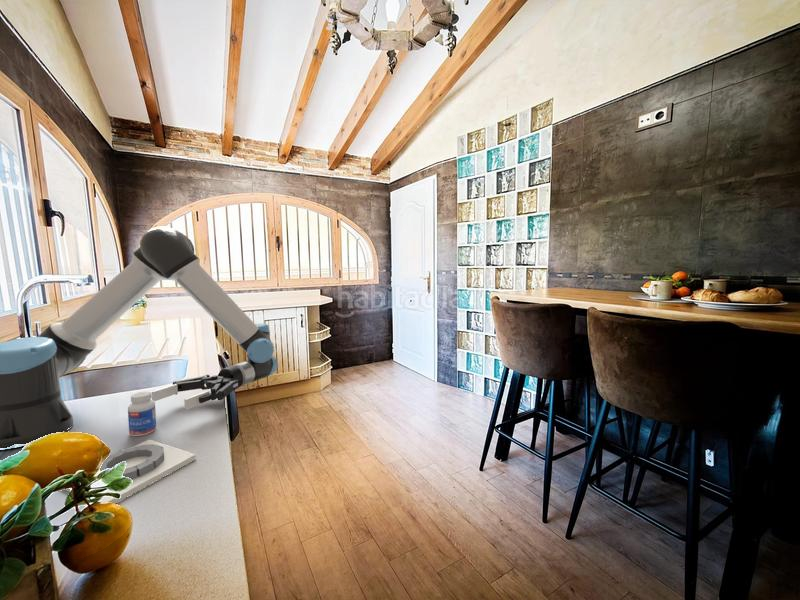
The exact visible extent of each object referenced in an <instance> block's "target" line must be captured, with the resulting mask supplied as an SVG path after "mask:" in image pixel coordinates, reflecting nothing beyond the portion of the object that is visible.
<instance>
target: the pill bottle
mask: <svg viewBox="0 0 800 600" xmlns="http://www.w3.org/2000/svg"><path fill="white" fill-rule="evenodd" d="M130 402H131V403H130V404H129V405H128V406H127V419H128V434H129V436H130V437H142V436H147V435H149V434H151V433H154V431H155V430H157V414H156V413H157V412H156V401H153V400H152V391H140V392H136V393H134V394H131V396H130Z"/></svg>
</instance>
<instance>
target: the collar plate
mask: <svg viewBox="0 0 800 600" xmlns="http://www.w3.org/2000/svg"><path fill="white" fill-rule="evenodd" d="M108 456H109V457H108V458H107V457H106V458H107V459H106V460H105V461H104V462H103V464H102V466H101V468H100V471H102V470H104V469H106V468H112V467H114V466H115V465H116V464H118V463H120V462H122V461H126V463H127V465H126V469H125V471H124V473H123V476H125V477H129V478H131V479H132V480H133V483H132V484H131V486H130V487H129V488H127V489H126V490H124V491H122V492H119V494H120V495H121V498H120V499H115V498H111V497H104V498H103V499H102V500H101V502H102V503H106V502H112V503H117V504H119V503H121V502H123V501H124V500H126V499H127V498H126V497H127V496H129V495H131V494H133V493H135V492H137V491H139V490H140V489H142V488H144V487H145V486H147V485H149V484H151V483H152V482H155V481H156V480H158V481H160V480H161V479H160V478H162V477H163V476H165V475H167V474H169V473H171V472H173V471H175V470H177V469H178V470H180V469H181V467H182V468H183V466H184V465H186V464H187V465H189V464H190V462H191V463H192V461H193V462H195V461H196V460H197V456H196V453H192V452H189V451H186V450H183V449H180V448H177V447H174V446H171V445H168V444H165V443H162V442H159V441H156V440H154V439H153V440H152V439H147V440H145V441H143V442H140V443H138V444H136V445H134V446H132V447H128V448H124V449H123V450H122V449H121V450H118V451H117V452H114V453H111V454H110V455H108ZM194 460H195V461H194ZM188 463H189V464H188ZM187 465H186V466H187ZM184 467H185V466H184ZM179 468H180V469H179ZM178 470H177V471H178ZM175 472H176V471H175ZM173 473H174V472H173ZM171 474H172V473H171ZM169 475H170V474H169ZM159 479H160V480H159ZM162 479H163V478H162ZM155 483H156V482H155ZM151 485H152V484H151ZM149 486H150V485H149ZM144 489H145V488H144ZM142 490H143V489H142ZM65 491H67V492H69V493H70V489H67V490H65ZM140 491H141V490H140ZM140 491H139V492H140ZM137 493H138V492H137ZM135 494H136V493H135ZM133 495H134V494H133ZM131 496H132V495H131ZM125 498H126V499H125ZM123 499H124V500H123Z"/></svg>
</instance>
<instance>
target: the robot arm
mask: <svg viewBox="0 0 800 600" xmlns="http://www.w3.org/2000/svg"><path fill="white" fill-rule="evenodd" d="M131 256H132V261H131V262H130V263H129V264H128V265H127V266H125V268H123V269H122V270H121V271H120V272H119V273H118V274H117V275H116V276H115V277H113V278H112V279H111V280H110V281H109V282H107V284H105V285H103V287H102V288H100V290H99V291H97V292H96V293H95V294H94V295H93V296H92V297H91V298H89V299H88V300H87V301H86V302H85V303H83V305H82V306H80V307H79V308H78V309H77V310H76V311H75V312H73V313H72V314H71V315H70V316H69V317H68V318H67V319H65V320H64V321H61V322H53V323H51V324H50V325H49V326H48V327H47V328H46V329H44V330H43V331H42V332H41V333H40V334H39V335H37V336H33V337H32V336H31V337H21V338H16V339H10V340H8V341H2V342H0V448H7V447H10V446H12V445H14V444H26V443H29V442H31V441H33V440H36V439H38V438H40V437H43V436H45V435H48V434H51V433H56V432H63V431H66V432H67V431H69V430H67V429H68V428H70V427H71V426H72V427H73V426H74V418H73V414H72V413H71V411H70V410H69V408H68V407H67V404H65V402H64V401H63V398H62V396H61V386H60V385H61V384H60V378H61V377H63V376H65V375H67V374H68V373H71V372H72V371H74V370H76V369H77V368H78V367H80V366H81V365H82V364H83V363H84V361H85V360H86V358H87V357H88V356H89V355H90V354H91V353H92V352H93V351H94V350H95V349H96V348H97V339H98V338H99V337H100V336H102V335H103V334H104V333H105V332H106V331H107V330H108V329H109V328H110V327H111V326H112V325H114V324H115V323H116V322H117V321H118V320H119V319H120V318H121V317H122V316H124V314H125V313H127V312H128V310H130V309H131V308H133V306H134V305H136V303H137V302H138V301H140V299H142V298H143V297H144V296H145V295H146V294H147V293H148V292H149V291H150V290H152V289H153V288H154V287H155V286H156V285H157V284H158V283H159V282H160V281H175V283H177V285H179V286H180V287H181V289H183V290H184V291H185V292H186V293H187V294H188V296H190V297H191V298H192V299H193V300H194V301H195V302H196V303H197V304H198V305H199V306H200V307H201V308H202V309H203V310H204V312H205V313H207V315H209V316H210V317H211V318H212V320H214V321H215V323H216V324H217V325H219V326H220V327H221V328H222V329H223V330H224V331H225V332H226V334H228V335H229V337H231V338H232V339H233V340H234V341H235V342H236V344H238V345H239V347H240V348H241V349H242V350H243V351H244V352H245V353H246V359H247V360H246V361H242V362H238V363H236V364H233V365H230V366H226V367H223V368H222V369H220V371H219V372H218V374H217V375H211V376H210V374H206V375H205V374H204V375H202V376H198V377H192V378H187V379H182V380H181V379H180V380H174V381H172V384H171V385H168V386H165V387H162V388H159V389H156V390H155V389H154V390H152V391H151V396H152V397H151V400H153V401H154V402H157V401H160V400H162V399H163V400H164V399H165V398H168V397H171V396H173V395H175V396H176V395H178V394H179V393H181V392H186V391H187V392H188V391H193V390H200V389H201V390H202V391H203V392H200V393H197V394H195V395H192V396H189V397H186V398H184V400H183V401H184V410H185V411H187V410H190V409H192V408H194V407H198V406H200V405H203V404H205V403H207V402H209V401H215V400H217V401H222V400H224V399H225V398H226V397H227V396H228V395H230V394H231V393H232V392H233V391H235V390H238V389H239V388H241V387H246V385H249V384H251V383H254V382H256V381H259V380H262V379H265V378H267V377H269V376H271V375H273V374H275V372H276V371H277V369H278V365H279V363H278V361H277V357H275V356H274V351H275V346H274V343H273V342H272V340H271V338H270V327H269V325H268V324H267V323H254V322H253V320H251V318H250V317H249V316H248V315H247V314H246V313H245V312H244V310H242V309H241V307H240V306H239V305H238V304H237V303H236V302H235V301H234V300H233V299H232V297H230V295H228V294H227V292H226V291H225V290H224V289H223V288H222V287H221V286H220V285H219V284H218V283H217V282H216V280H215V279H213V277H212V276H211V275H210V274H209V273H208V272H207V271H206V270H205V269H204V268H203V267H202V265H200V261H201V259H200V258H199V257H198V256H197V255H196V254H195V247H194V244H193V242H192V240H191V239H190V238H189V237H188V236H187V235H185V234H184V233H183V232H180V231H178V230H177V229H174V228H171V227H167V226H156V227H153V228H150V229H149V230H147V231H146V232H145V233H144V234H143V235H142V237H141V239H140V243H139V247H138V248H137V249H135V251H134V252H132V254H131ZM209 390H210V391H209ZM72 427H71V428H72ZM71 428H70V429H71Z"/></svg>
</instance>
